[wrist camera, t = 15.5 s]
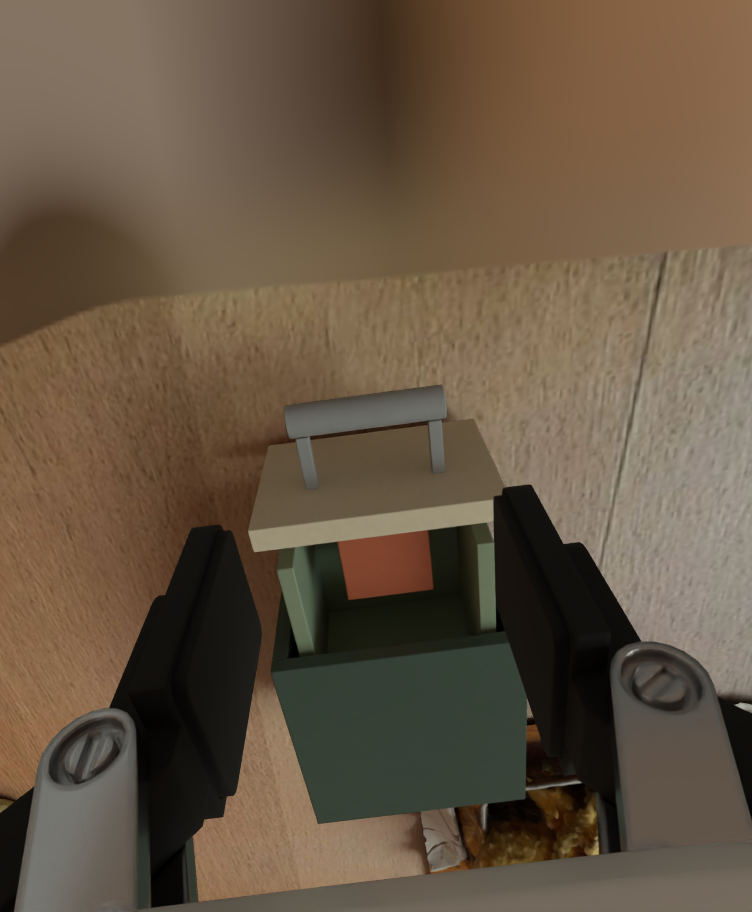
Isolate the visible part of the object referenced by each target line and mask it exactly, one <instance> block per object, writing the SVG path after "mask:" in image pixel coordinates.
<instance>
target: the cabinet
mask: <svg viewBox="0 0 752 912" xmlns="http://www.w3.org/2000/svg"><path fill="white" fill-rule="evenodd" d="M495 600H496V596H495ZM272 660H273V661H272V665H271V676H272V679H273V682H274V686H275V689H276V692H277V695H278V698H279V701H280V705H281V708H282V711H283V714H284V717H285V720H286V724H287V727H288V730H289V733H290V736H291V739H292V743H293V746H294V749H295V752H296V755H297V758H298V762H299V765H300V768H301V771H302V774H303V777H304V781H305V784H306V787H307V790H308V793H309V796H310V800H311V803H312V806H313V809H314V812H315V815H316V819H317V822H318V824H322V823H330V822H339V821H347V820H355V819H363V818H372V817H380V816H388V815H397V814H405V813H413V812H421V811H430V810H438V809H446V808H455V807H463V806H471V805H479V804H488V803H496V802H504V801H513V800H521V799H525V788H526V731H527V696H526V693H525V690H524V687H523V684H522V681H521V678H520V674H519V671H518V668H517V665H516V662H515V659H514V656H513V653H512V650H511V647H510V644H509V641H508V638H507V635H506V632H505V629H504V626H503V623H502V620H501V617H500V614H499V611H498V607H497V602H496V632H495V633H487V634H479V635H471V636H463V637H455V638H447V639H439V640H431V641H423V642H415V643H408V644H400V645H392V646H384V647H376V648H368V649H360V650H352V651H344V652H336V653H328V654H320V655H312V656H304V657H300V655H299V652H298V648H297V644H296V641H295V637H294V633H293V630H292V626H291V622H290V619H289V615H288V611H287V608H286V604H285V600H284V597H283V593H282V592H281V599H280V607H279V614H278V621H277V629H276V636H275V644H274V651H273V658H272Z"/></svg>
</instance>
